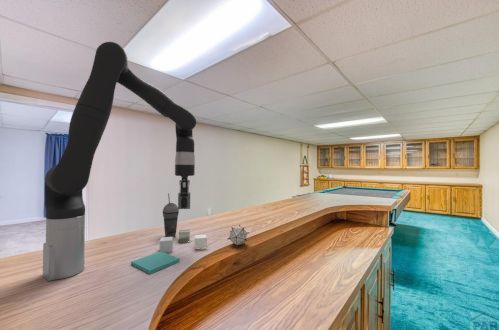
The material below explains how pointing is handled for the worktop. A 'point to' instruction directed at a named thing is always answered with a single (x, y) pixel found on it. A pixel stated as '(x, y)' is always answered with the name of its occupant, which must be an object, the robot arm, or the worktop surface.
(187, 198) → the charcoal block
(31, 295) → the worktop surface
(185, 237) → the sage block
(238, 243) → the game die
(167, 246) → the grey block
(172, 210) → the beverage cup
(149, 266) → the teal mat
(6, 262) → the worktop surface
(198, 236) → the offwhite block
